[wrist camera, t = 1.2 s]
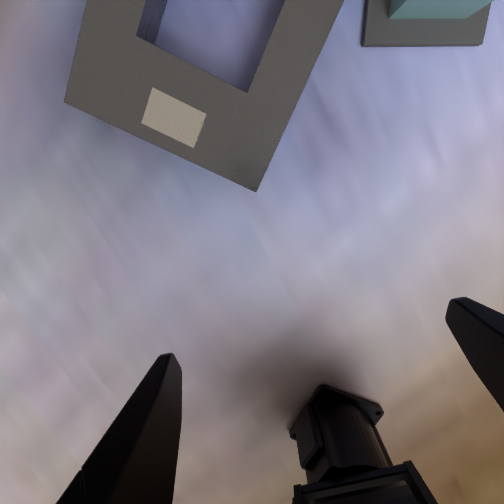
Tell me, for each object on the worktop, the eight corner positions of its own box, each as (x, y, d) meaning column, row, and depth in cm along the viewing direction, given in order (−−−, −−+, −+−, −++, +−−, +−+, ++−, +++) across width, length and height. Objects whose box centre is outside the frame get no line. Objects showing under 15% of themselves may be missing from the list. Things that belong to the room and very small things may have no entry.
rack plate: (380, -85, 16) (405, -133, 13) (255, 188, 20) (256, 192, 18) (171, -220, 14) (153, -304, 12) (88, 109, 19) (61, 101, 16)
